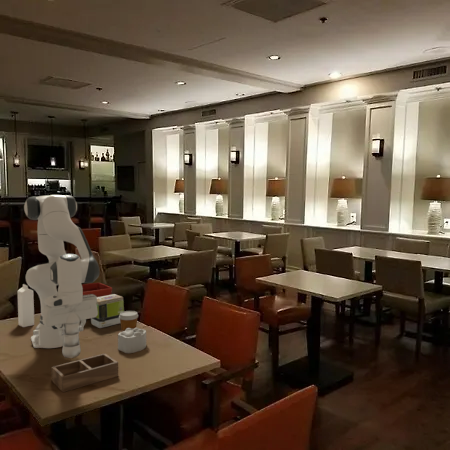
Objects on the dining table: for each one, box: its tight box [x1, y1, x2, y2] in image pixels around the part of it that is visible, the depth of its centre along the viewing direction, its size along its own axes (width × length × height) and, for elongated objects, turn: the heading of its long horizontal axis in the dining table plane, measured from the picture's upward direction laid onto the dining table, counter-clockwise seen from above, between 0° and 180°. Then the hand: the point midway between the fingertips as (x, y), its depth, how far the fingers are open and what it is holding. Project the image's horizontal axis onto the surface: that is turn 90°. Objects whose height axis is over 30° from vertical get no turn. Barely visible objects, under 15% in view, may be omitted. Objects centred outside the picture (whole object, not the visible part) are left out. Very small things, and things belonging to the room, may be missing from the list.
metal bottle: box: [61, 308, 81, 359], centre depth 167 cm, size 6×7×20 cm
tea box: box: [90, 293, 125, 329], centre depth 239 cm, size 15×10×15 cm, turn 133°
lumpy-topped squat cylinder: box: [117, 327, 147, 354], centre depth 205 cm, size 10×13×9 cm
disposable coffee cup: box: [119, 310, 139, 332], centre depth 219 cm, size 10×10×12 cm
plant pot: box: [82, 282, 113, 320], centre depth 254 cm, size 19×19×17 cm
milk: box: [17, 283, 35, 328], centre depth 235 cm, size 6×6×22 cm
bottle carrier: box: [51, 353, 119, 393], centre depth 172 cm, size 12×22×6 cm, turn 131°
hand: (71, 332), depth 167 cm, fingers closed on metal bottle, 6 cm apart
